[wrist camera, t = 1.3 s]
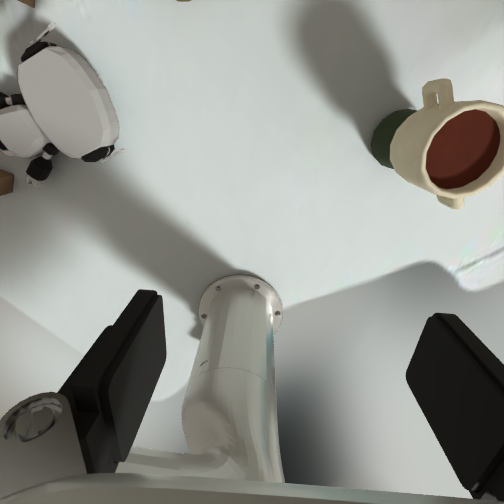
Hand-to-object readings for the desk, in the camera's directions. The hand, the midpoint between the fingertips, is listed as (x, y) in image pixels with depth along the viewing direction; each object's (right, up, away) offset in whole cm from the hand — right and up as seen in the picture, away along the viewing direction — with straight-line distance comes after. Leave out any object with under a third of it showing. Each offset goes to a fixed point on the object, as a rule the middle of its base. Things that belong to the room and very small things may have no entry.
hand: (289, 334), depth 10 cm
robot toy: (-24, +19, +24) cm, 38 cm away
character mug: (+15, +16, +23) cm, 32 cm away
